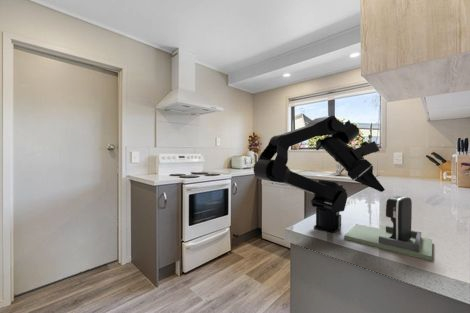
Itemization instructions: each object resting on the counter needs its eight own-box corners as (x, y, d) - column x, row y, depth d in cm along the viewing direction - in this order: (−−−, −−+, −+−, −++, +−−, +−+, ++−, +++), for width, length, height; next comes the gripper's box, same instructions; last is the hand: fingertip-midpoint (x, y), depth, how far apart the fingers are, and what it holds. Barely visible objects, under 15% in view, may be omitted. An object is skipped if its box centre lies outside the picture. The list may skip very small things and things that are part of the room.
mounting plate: (344, 238, 60) (344, 229, 60) (356, 227, 69) (356, 219, 69) (431, 261, 47) (431, 249, 47) (432, 243, 57) (432, 233, 57)
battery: (395, 234, 60) (395, 194, 60) (411, 239, 57) (412, 196, 57) (383, 240, 56) (383, 197, 56) (400, 245, 53) (401, 199, 53)
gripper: (362, 129, 57) (414, 172, 52) (359, 134, 73) (399, 167, 68) (329, 158, 61) (375, 201, 55) (334, 157, 77) (369, 190, 72)
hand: (381, 188), depth 63 cm, fingers open, 9 cm apart
